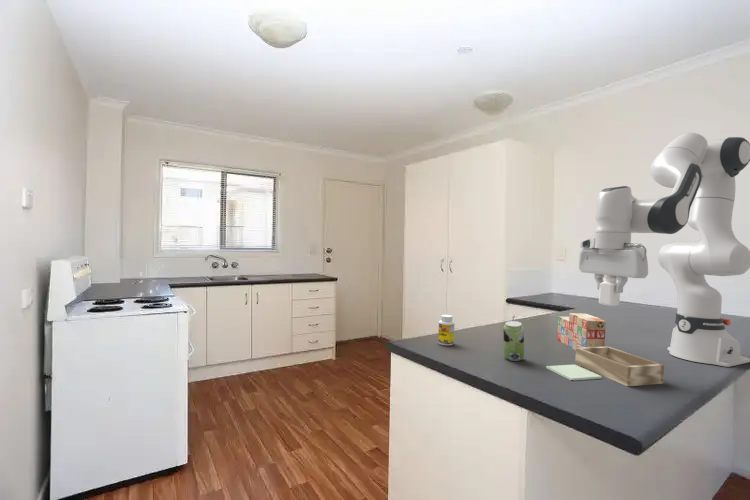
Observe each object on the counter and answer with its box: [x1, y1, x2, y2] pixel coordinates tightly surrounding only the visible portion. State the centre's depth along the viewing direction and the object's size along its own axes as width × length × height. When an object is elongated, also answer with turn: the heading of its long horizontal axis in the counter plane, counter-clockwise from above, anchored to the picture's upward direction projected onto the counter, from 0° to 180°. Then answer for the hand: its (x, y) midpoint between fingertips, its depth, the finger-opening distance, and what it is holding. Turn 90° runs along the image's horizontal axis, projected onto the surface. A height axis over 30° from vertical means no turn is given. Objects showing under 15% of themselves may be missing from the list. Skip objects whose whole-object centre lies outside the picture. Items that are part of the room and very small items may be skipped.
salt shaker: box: [598, 275, 621, 307], centre depth 107 cm, size 4×4×10 cm
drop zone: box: [545, 364, 603, 381], centre depth 106 cm, size 10×10×1 cm
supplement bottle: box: [437, 314, 455, 346], centre depth 134 cm, size 6×6×10 cm
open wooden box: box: [574, 346, 665, 387], centre depth 107 cm, size 12×18×5 cm, turn 13°
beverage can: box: [503, 320, 525, 362], centre depth 118 cm, size 6×7×12 cm
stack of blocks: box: [557, 312, 607, 351], centre depth 134 cm, size 21×6×12 cm, turn 178°
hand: (609, 291), depth 107 cm, fingers closed on salt shaker, 4 cm apart
